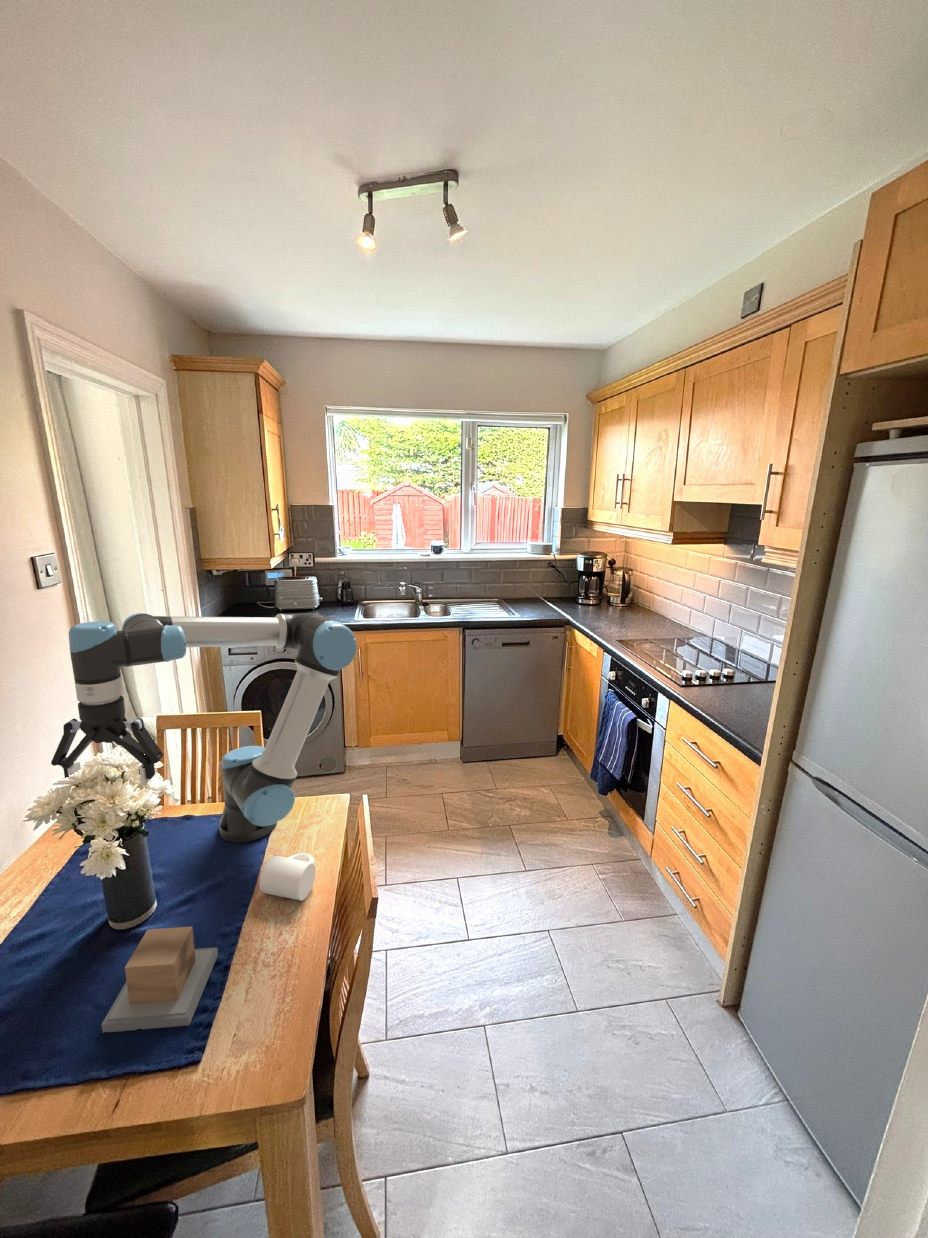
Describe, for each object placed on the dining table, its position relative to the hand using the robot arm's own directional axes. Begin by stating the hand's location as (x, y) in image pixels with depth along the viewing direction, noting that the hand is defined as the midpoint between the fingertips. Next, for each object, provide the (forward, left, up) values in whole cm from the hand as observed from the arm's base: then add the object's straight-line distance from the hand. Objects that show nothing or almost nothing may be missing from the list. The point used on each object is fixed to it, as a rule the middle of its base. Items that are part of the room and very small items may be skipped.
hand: (113, 793), depth 104 cm
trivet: (+21, +17, -29) cm, 39 cm away
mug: (-4, +35, -29) cm, 46 cm away
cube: (+21, +17, -27) cm, 38 cm away
